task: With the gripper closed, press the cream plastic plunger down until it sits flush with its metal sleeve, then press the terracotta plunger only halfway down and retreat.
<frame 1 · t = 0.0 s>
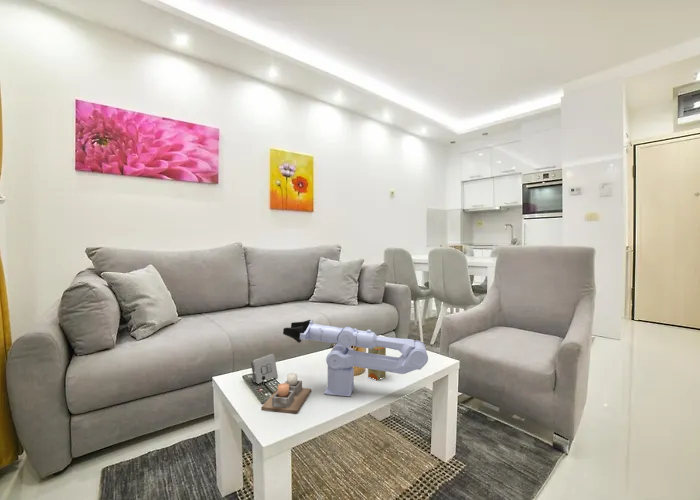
hand: (287, 328, 116), 22 cm above the table, tool horizontal, fingers open, 7 cm apart
panel: (287, 400, 105), on the table
plug terracotta: (283, 390, 101), point 5 cm above the table, slide at 0.0 cm
electrical switch: (263, 380, 121), on the table
plug cream: (292, 379, 109), point 5 cm above the table, slide at 0.0 cm
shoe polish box: (376, 377, 124), on the table
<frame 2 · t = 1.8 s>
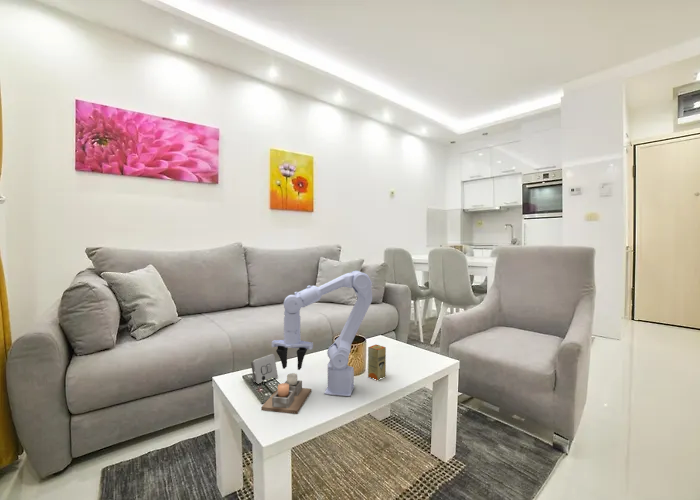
hand: (292, 368, 109), 9 cm above the table, tool pointing down, fingers open, 5 cm apart
nothing on the table moved.
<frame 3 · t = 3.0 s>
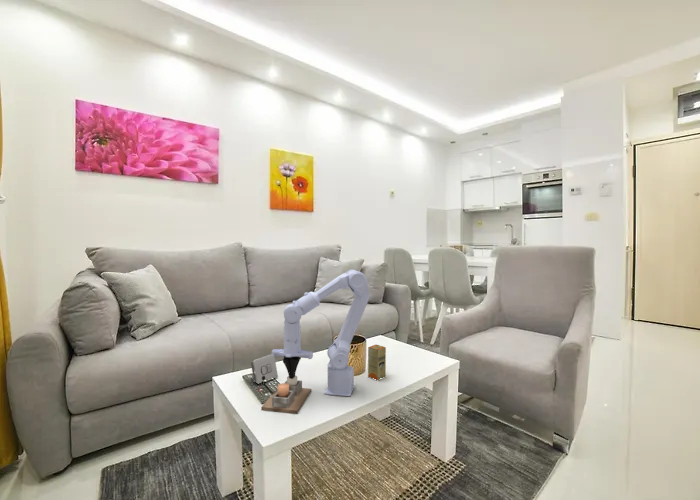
hand: (292, 377, 109), 6 cm above the table, tool pointing down, fingers closed, pressing on plug cream
plug cream: (292, 381, 109), point 5 cm above the table, slide at 0.7 cm, touching gripper
everything else where it was.
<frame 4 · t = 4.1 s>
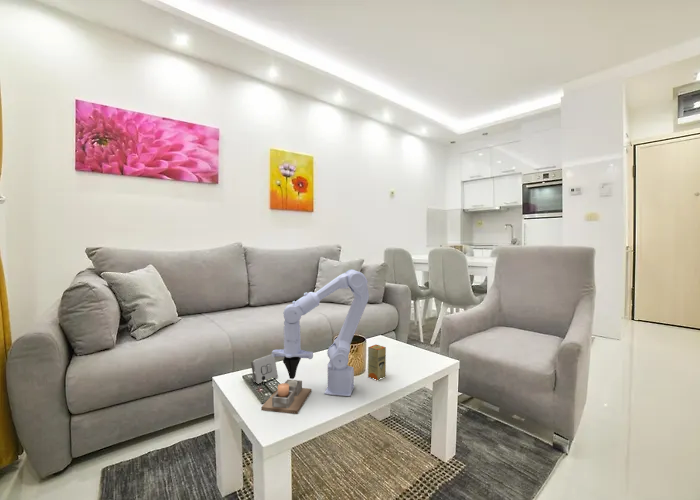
hand: (292, 377, 109), 6 cm above the table, tool pointing down, fingers closed
plug cream: (292, 386, 109), point 3 cm above the table, slide at 2.5 cm
everything else where it was.
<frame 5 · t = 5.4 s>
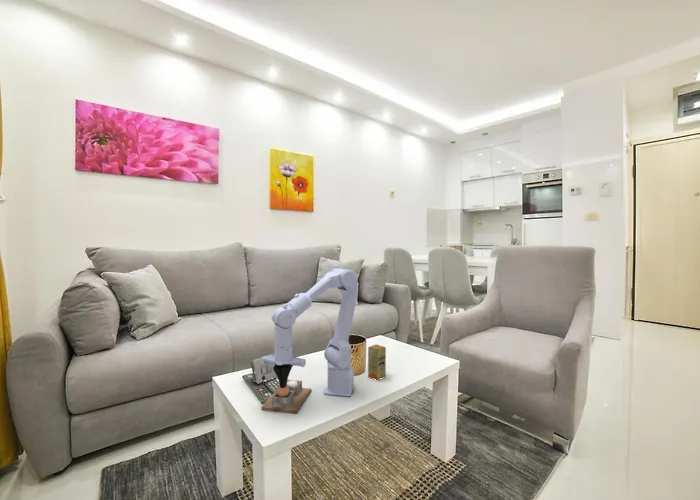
hand: (283, 386, 101), 6 cm above the table, tool pointing down, fingers closed, pressing on plug terracotta
plug terracotta: (283, 391, 101), point 5 cm above the table, slide at 0.3 cm, touching gripper
everything else where it was.
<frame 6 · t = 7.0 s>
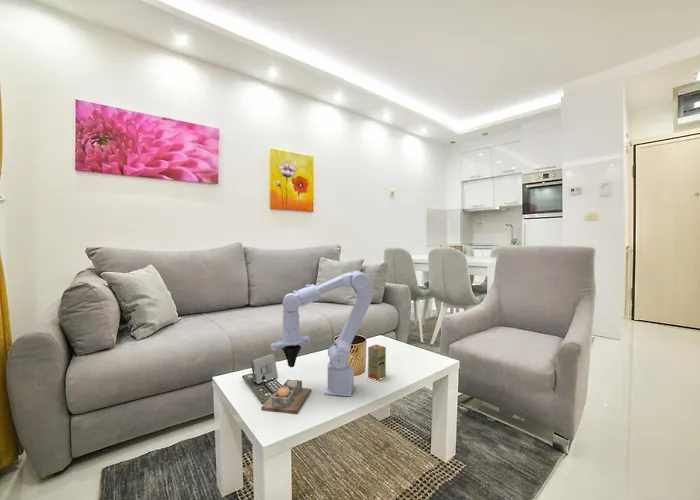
hand: (291, 366, 110), 10 cm above the table, tool pointing down, fingers closed
plug terracotta: (283, 393, 101), point 4 cm above the table, slide at 1.2 cm
everything else where it was.
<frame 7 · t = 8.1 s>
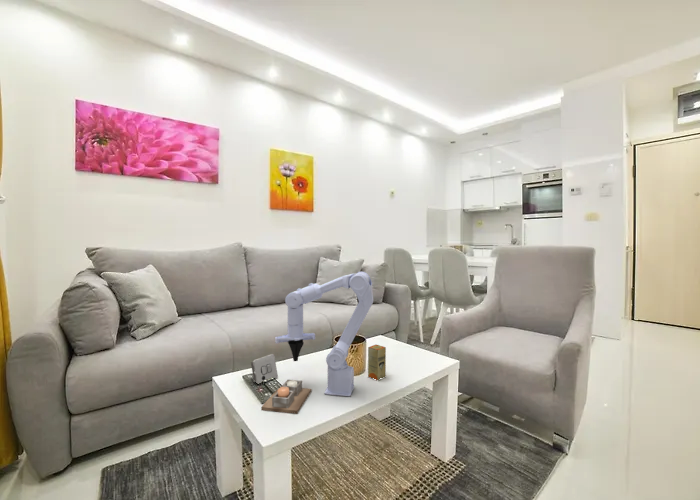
hand: (295, 360, 115), 10 cm above the table, tool pointing down, fingers closed
nothing on the table moved.
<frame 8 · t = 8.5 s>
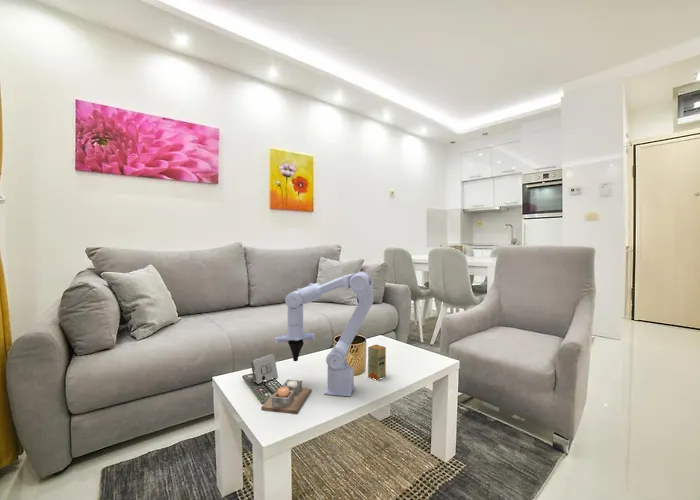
hand: (295, 360, 115), 10 cm above the table, tool pointing down, fingers closed
nothing on the table moved.
at the end: plug cream slide at 2.5 cm; plug terracotta slide at 1.2 cm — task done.
